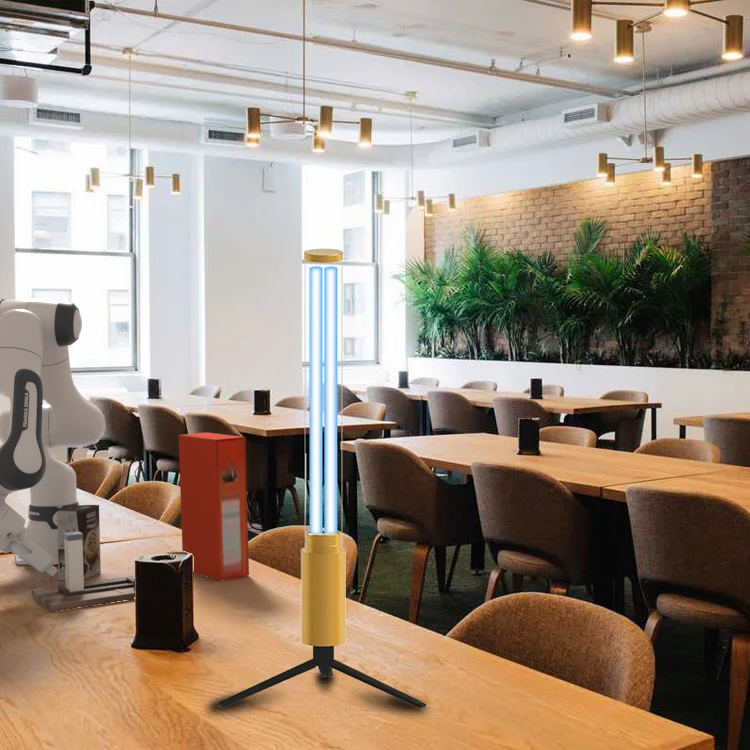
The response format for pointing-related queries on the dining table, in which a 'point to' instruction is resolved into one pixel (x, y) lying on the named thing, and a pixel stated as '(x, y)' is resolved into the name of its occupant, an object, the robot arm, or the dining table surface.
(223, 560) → the file binder
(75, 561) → the fader tab
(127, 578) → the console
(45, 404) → the robot arm
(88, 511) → the coffee box
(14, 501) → the dining table surface
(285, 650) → the dining table surface
